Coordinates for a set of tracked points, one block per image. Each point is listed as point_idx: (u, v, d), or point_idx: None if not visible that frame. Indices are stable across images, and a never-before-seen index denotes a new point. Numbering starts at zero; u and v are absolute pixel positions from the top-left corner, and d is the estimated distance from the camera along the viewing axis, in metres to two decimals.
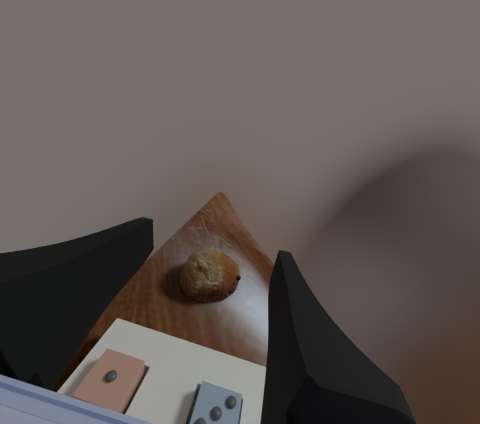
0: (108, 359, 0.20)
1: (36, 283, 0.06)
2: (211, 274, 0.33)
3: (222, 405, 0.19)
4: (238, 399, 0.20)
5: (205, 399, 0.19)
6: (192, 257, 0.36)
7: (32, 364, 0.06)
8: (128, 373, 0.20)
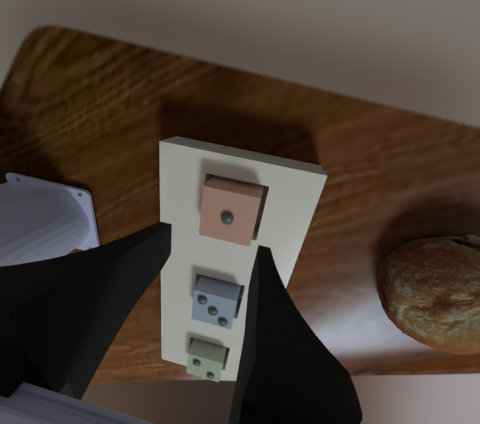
0: (245, 207, 0.15)
1: (71, 293, 0.06)
2: (421, 318, 0.16)
3: (219, 314, 0.20)
4: (226, 326, 0.20)
5: (221, 303, 0.19)
6: None
7: (64, 374, 0.06)
8: (233, 234, 0.16)
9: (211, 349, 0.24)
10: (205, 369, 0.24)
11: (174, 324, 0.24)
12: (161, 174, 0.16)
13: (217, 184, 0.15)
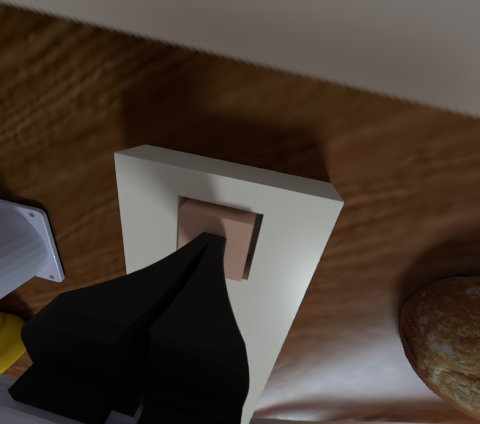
0: (234, 235, 0.11)
1: (151, 315, 0.06)
2: (466, 389, 0.12)
3: None
4: None
5: None
6: None
7: (139, 397, 0.06)
8: None
9: None
10: None
11: None
12: (120, 196, 0.12)
13: (199, 205, 0.12)
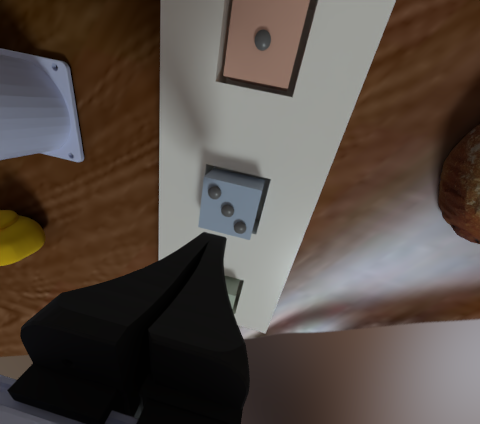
0: (288, 18, 0.11)
1: (151, 315, 0.06)
2: None
3: (236, 216, 0.15)
4: (243, 235, 0.16)
5: (240, 196, 0.14)
6: None
7: (139, 397, 0.06)
8: (268, 69, 0.12)
9: None
10: None
11: (175, 250, 0.19)
12: None
13: None
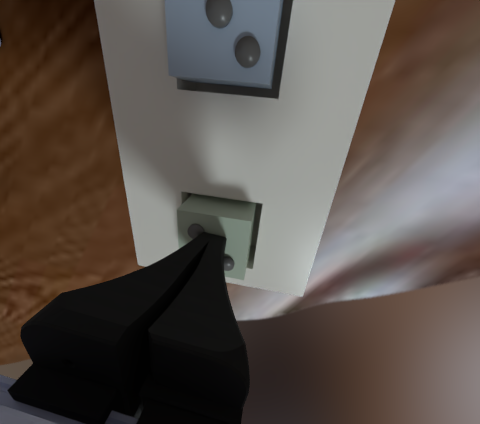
0: None
1: (151, 315, 0.06)
2: None
3: (238, 25, 0.07)
4: (256, 74, 0.08)
5: None
6: None
7: (139, 397, 0.06)
8: None
9: (224, 207, 0.12)
10: None
11: (147, 163, 0.12)
12: None
13: None
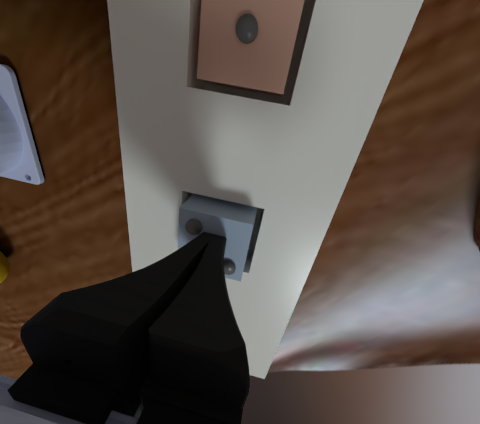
0: None
1: (151, 315, 0.06)
2: None
3: None
4: (233, 276, 0.13)
5: (226, 231, 0.11)
6: None
7: (139, 397, 0.06)
8: (256, 68, 0.09)
9: None
10: None
11: None
12: None
13: None
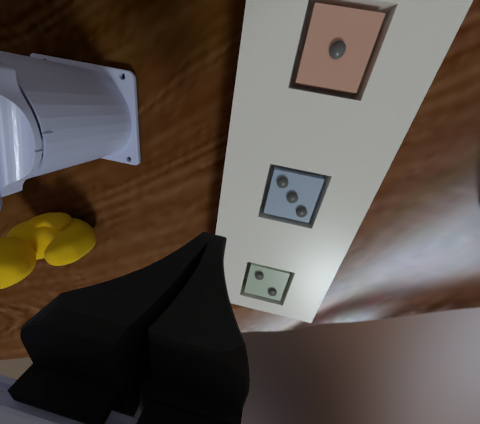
0: (363, 30, 0.12)
1: (151, 315, 0.06)
2: None
3: (299, 202, 0.18)
4: (303, 218, 0.18)
5: (305, 185, 0.17)
6: None
7: (139, 397, 0.06)
8: (339, 75, 0.14)
9: None
10: (267, 284, 0.22)
11: (230, 246, 0.21)
12: (248, 2, 0.13)
13: None
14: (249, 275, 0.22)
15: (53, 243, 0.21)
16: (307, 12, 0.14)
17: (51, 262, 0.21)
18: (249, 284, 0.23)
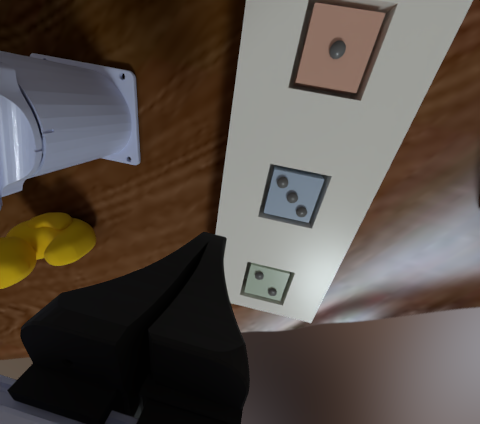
0: (363, 29, 0.12)
1: (151, 315, 0.06)
2: None
3: (299, 202, 0.18)
4: (303, 218, 0.18)
5: (305, 185, 0.17)
6: None
7: (139, 397, 0.06)
8: (339, 75, 0.14)
9: None
10: (267, 284, 0.22)
11: (230, 246, 0.21)
12: (248, 2, 0.13)
13: None
14: (249, 275, 0.22)
15: (53, 243, 0.21)
16: (307, 12, 0.14)
17: (51, 262, 0.21)
18: (249, 284, 0.23)
